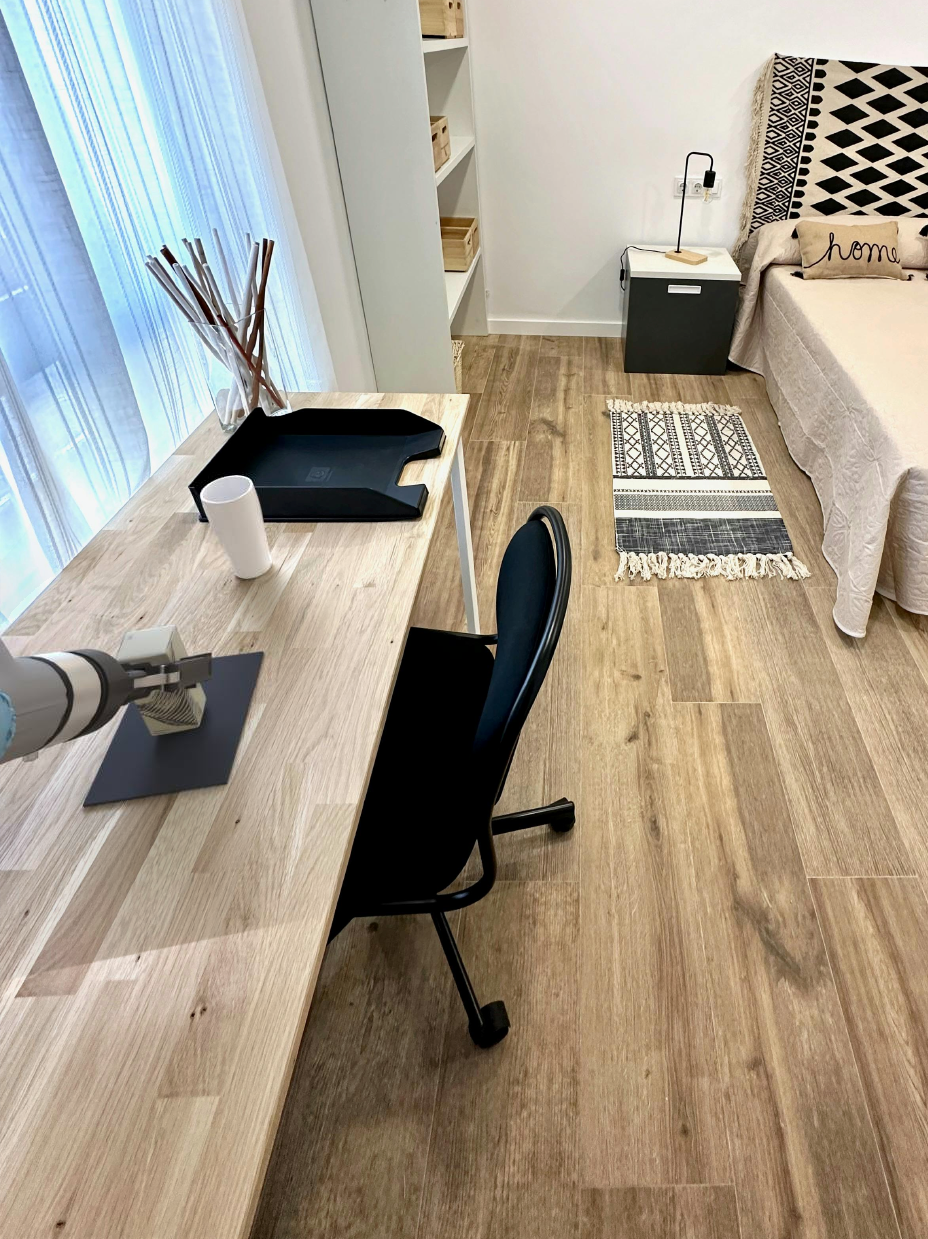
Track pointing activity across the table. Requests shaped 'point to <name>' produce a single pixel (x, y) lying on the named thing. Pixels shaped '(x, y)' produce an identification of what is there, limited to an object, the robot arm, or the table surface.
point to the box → (160, 707)
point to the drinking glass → (238, 524)
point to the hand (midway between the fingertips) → (180, 668)
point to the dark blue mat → (180, 741)
